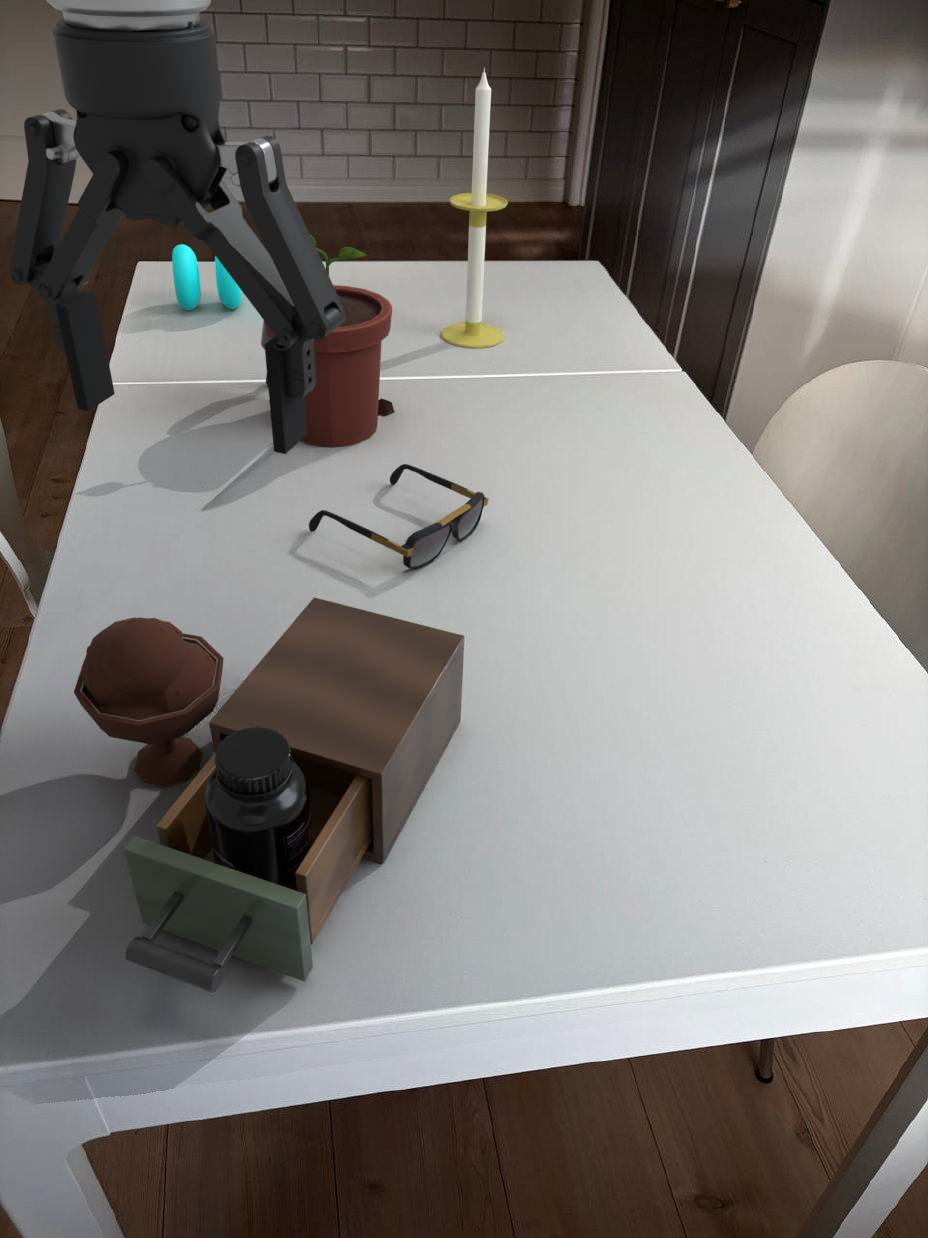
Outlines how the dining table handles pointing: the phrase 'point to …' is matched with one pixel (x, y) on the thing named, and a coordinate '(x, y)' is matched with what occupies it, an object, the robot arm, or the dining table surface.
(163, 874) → the drawer
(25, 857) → the dining table surface
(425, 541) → the sunglasses
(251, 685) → the cabinet
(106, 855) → the dining table surface
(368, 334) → the potted plant
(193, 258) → the donuts
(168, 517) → the dining table surface
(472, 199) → the candle
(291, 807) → the supplement bottle
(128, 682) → the ice cream bowl
